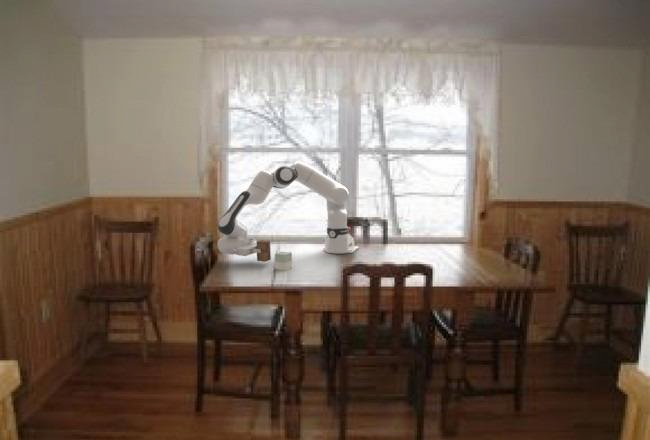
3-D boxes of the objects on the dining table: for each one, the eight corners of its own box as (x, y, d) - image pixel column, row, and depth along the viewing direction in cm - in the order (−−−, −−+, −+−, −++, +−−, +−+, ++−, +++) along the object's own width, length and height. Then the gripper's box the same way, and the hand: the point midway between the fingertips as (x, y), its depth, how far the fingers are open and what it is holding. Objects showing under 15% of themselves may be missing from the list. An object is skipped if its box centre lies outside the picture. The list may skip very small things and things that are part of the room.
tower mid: (281, 259, 279) (281, 251, 279) (291, 260, 276) (291, 252, 276) (275, 261, 274) (275, 253, 273) (285, 262, 271) (284, 254, 270)
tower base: (282, 266, 280) (282, 259, 279) (292, 268, 277) (291, 260, 276) (275, 269, 275) (275, 261, 274) (285, 270, 272) (285, 262, 271)
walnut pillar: (263, 258, 285) (262, 239, 284) (270, 259, 283) (270, 240, 281) (257, 260, 281) (256, 241, 280) (264, 261, 279) (264, 242, 277)
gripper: (230, 245, 278) (252, 247, 271) (255, 238, 296) (276, 240, 289) (231, 257, 279) (252, 259, 272) (255, 249, 297) (276, 252, 290)
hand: (264, 249), depth 281 cm, fingers closed on walnut pillar, 5 cm apart
